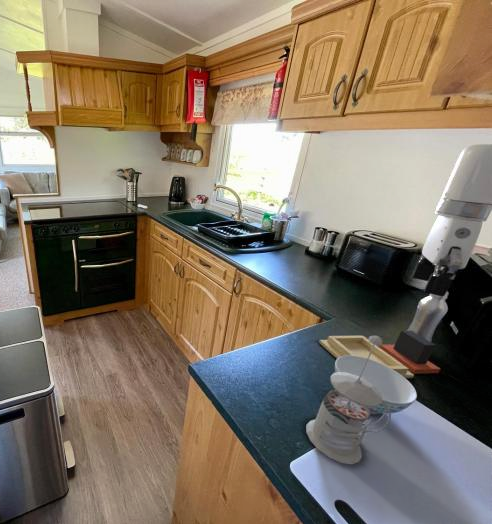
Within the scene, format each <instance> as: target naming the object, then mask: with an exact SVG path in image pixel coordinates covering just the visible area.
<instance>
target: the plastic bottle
mask: <svg viewBox="0 0 492 524" xmlns="http://www.w3.org/2000/svg"><path fill="white" fill-rule="evenodd" d="M448 296H449V292H448V291H447V292H446V294H445V296H438V295H433V294H429V295H428V296H426V297H424V298H422V299H420V301H418V303H417V308H416V311H415V315H414V318H413V320H412V322H411V323H410V325H409V327H408V328H407V330H406V331H413V332H414V333H416V334H418V335H420V336H421V337H423V338H425V339H426V340H428V341H430V342H431V343H432V340H433V339H432V338H433V337H434V334H435V331H436V328H437V326H438V325H439V323H440V322H441V321H442V319H443V318H444V317H445V315H446V314H447V312H448V310H449V308H448V304H447V302H446V300H447V299H448Z"/></svg>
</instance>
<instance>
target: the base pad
mask: <svg viewBox="0 0 492 524" xmlns="http://www.w3.org/2000/svg"><path fill="white" fill-rule="evenodd" d="M368 339H369V338H367V337H366V336H364V335H328V336H327V338H326V339H319V342H318V343H319V344H320V345H321V346H322V347H323V348H324V349H326V351H328V353H329V354H331V355H332V356H333V357H334V358H336V360H337V359H338V358H339V357H341V356H346V355H352V356H360V357H364V358H368V356H369V353H370V351H371V349H372V346H373V344H372V343H370V342H369V340H368ZM379 347H380V346H379V345H374V348H373V350H372V352H371V355H370V357H369V359H371V360H374V361H376V362H379V363H381V364H383V365H385V366H387V367H389V368H391V369H393V370H394V371H396V372H397V373H399V374H400V375H402V376H403V377H404V378H405V379H413V378H414V377H415V374H413V373H412V372H411V371H409V370H408V368H407V367H406V366H404V365H403V364H401V363H400V362H399V361H397V360H396V359H394V358H393V357H392V356H390V355H389V354H387V353H386V352H385V351H383V350H382V349H380V348H379Z"/></svg>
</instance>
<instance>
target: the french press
mask: <svg viewBox="0 0 492 524" xmlns="http://www.w3.org/2000/svg"><path fill="white" fill-rule="evenodd" d="M367 339H368V340H369V342H370V343H372V344H373V346H372V349H371V351H370V353H369V356H368V358H367V360H366V363H365V365H364V367H363V370H362V372H361V374H360V377H359V376H356V375H353V374H350V373H346V372H337V373H335V372H333V373H332V374H331V375H330V383H331V385H332V387H333V388H334V389H332V390H329V391H328V392H327V393H326V395H325V396H324V397H323V399H322V402H321V404H320V407H319V410H318V412H317V415H316V417H315V419H312V420H309V422H308V423H307V424H306V426H305V427H306V428H305V429H306V431H305V433H306V434H307V436H308V438H309V441H310V442H311V444H313V446H314V447H315V448H316V449H317V450H318V451H319V452H321V453H322V454H323V455H325V456H326V457H327V458H329V459H331V460H334V461H336V462H338V463H340V464H346V465H354V464H357V463H360V461H361V459H362V457H363V453H362V448H361V446H360V444H361V442H362V440H363V438H364V436H365V434H368V433H377V432H380V431H382V430H384V429H385V428H386V427H387V426H388V425H389V424H390V421H391V420H392V413H390V411H389V409H388V408H387V407H386V405H385V403H384V401H383V400H382V396H381V393H380V392H379V391H378V390H377V389H376V388H375V387H374V386H373V385H372V384H370V383H369V382H367V381H366V380H365V379H363V378H362V377H361V375H362V373H363V371H364V369H365V366H366V364H367V362H368V359H369V357H370V355H371V352H372V350H373V348H374V345H376V346H378V347H380V345H383V340H382V338H381V337H380V336H378V335H371V336H368V338H367ZM381 401H382V402H383V404H382V403H381ZM379 404H381V405H383V406H384V408H385V411H384V413H382V416H381V417H380V418H379V419H378V420H376V421H374V422H371V419H370V418H371V417H372V414H371V412H370V409H369V408H368V407H367V406H371V407H372V406H375V407H377V406H378V405H379ZM386 409H387V410H388V413H389V414H388V419H387V421H386V423H385V424H384V425H383V426H381V427H380V428H377V429H374V430H368V428H369V426H371V425H376V424H377V423H379V422H380V421H382V420H383V419H384V418H385V416H386V414H385V413H386ZM334 410H335V411H334ZM339 417H340V418H339ZM341 418H342V419H343V420H344V421H343V420H342V419H341ZM365 421H366V422H365ZM364 422H365V423H364ZM357 438H358V439H357Z"/></svg>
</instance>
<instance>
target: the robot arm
mask: <svg viewBox="0 0 492 524" xmlns="http://www.w3.org/2000/svg"><path fill="white" fill-rule="evenodd" d="M491 212H492V144H488V143H487V144H486V143H483V144H482V143H481V144H472V145H469V146H466V147H465V148H464V149H463V150H462V151H461V152H460V154H459V157H458V158H457V161H456V163H455V166H454V168H453V170H452V172H451V174H450V177H449V179H448V182H447V184H446V185H445V188H444V191H443V193H442V195H441V198H440V200H439V201H438V204H437V206H436V208H435V211H434V215H436V216H437V218H436V220H435V221H434V224H433V225H432V227H431V230H430V232H429V233H428V235H427V238H426V239H425V242H424V244H423V247H422V250H421V256H420V257H419V260H418V261H417V264H416V266H415V269H414V270H413V272H412V275H411V277H412V278H413V279H415V280H420V281H425V282H426V285H425V287H424V289H423V292H424V293H425V294H428V295H430V294H433V295H438V296H445V294H446V292H448V290H449V288H450V286H451V284H452V282H453V281H454V279H455V278H456V274H458V273H459V270H463V269H465V268H466V267H467V265H468V262H469V260H470V258H471V256H472V254H473V251H474V249H475V246H476V245H477V242H478V239H479V237H480V233H481V230H482V226H483V223H484V222H487V220H488V218H489V217H490V214H491Z"/></svg>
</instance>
